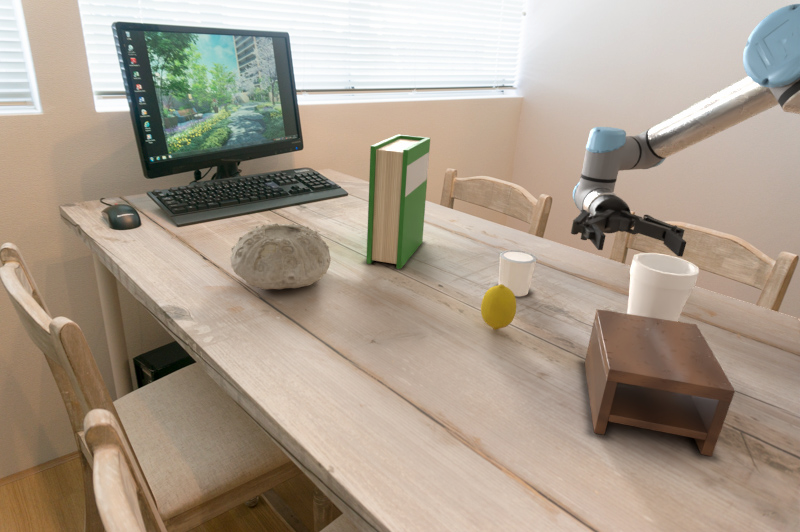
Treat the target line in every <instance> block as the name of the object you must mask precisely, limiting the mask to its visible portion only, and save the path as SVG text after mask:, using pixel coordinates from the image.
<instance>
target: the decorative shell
mask: <svg viewBox="0 0 800 532" xmlns="http://www.w3.org/2000/svg"><path fill="white" fill-rule="evenodd" d="M329 248H330V247H329V245H328V244H327V243H326V241H325V240H324V239H323V238H322V236H321V235H320V234H319V233H318V231H316V230H313V229H311V228H310V227H309V226H305V225H303V224H298V223H297V224H296V223H289V224H287V223H284V224H281V223H279V224H278V223H269V224H263V225H261V226H255V228H253V229H251V230H250V231H248V232H247V233H246V234H244V235H242V236H240V237H238V241H237V242H236V244H235V245H233V246H232V247H231V254H230V257H229V258H230V267H231V268H232V270H233V272H234V273H235V275H237V276H239V277H240V278H242V279H243V280H244V281H245V282H246V284H248V285H249V286H251V287H254V288H255V287H256V288H258V289H261V290H267V291H268V290H283V289H298V288H302V287H308V286H311V285H312V284H314V283H315V282H318V281H320V280H321V278H323V277H324V275H326V274H327V272H328V270H329V268H330V264H331V261H332V258H331V254H330V249H329Z"/></svg>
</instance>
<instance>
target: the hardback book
mask: <svg viewBox="0 0 800 532" xmlns="http://www.w3.org/2000/svg"><path fill="white" fill-rule="evenodd" d="M430 148H431V137H425V136H418V135H408V134H406V135H405V134H395V135H393V136H391V137H388V138H386V139H383V140H381V141H379V142H377V143H374V144H372V145H370V149H369V150H370V151H369V176H368V177H369V178H368V203H367V204H368V207H367V210H368V211H367V235H366V237H367V238H366V261H365V264H368V265H371V264H372V263H374V261H376V262H382V263H388V264H394V265H396V267H395V269H397V270H401V269H402V268H403V267H404V266H405V264H406V263H407V262H408V261H409V260H410V258H411V257H412V256H413V255H414V253H415V252H416V251H417V250H418V248H420V246H421V245H422V243H423V239H424V228H425V227H424V225H425V213H426V212H425V211H426V200H427V199H426V198H427V186H428V176H429V175H428V173H429V161H430V150H431V149H430Z"/></svg>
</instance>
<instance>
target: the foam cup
mask: <svg viewBox="0 0 800 532" xmlns="http://www.w3.org/2000/svg"><path fill="white" fill-rule="evenodd" d="M629 274H630V279H629V288H628V301H627V311H626V314H631V315H638V316H644V317H651V318H657V319H664V320H670V321H677V322H679V321H678V320H679V319H680V316H681V314H682V312H683V310H684V308H685V305H686V304H687V301H688V299H689V297H690V295H691V292H692V290H693V289H694V288H695V287H696V284H697V280H698V278H699V274H700V267H698V266H697V265H696V264H695V263H693V262H691V261H688V260H686V259H684V258H683V257H679V256H675V255H670V254H664V253H658V252H640V253H637V254H634V255H633V257H632V261H631V265H630V269H629Z"/></svg>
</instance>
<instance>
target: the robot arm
mask: <svg viewBox="0 0 800 532" xmlns="http://www.w3.org/2000/svg"><path fill="white" fill-rule="evenodd" d="M742 64H743V69H744V71H745V73H746V75H744V76H743V77H741V78H740V79H739V78H738V80H736V81H733V82H732V83H730V84H728V85H727V86H724V87H722V88H721V89H719V90H718V91H717V90H716V91H715V92H714V93H712V94H710V95H708V96H706V97H704V98H703V99H701V100H699V101H697V102H695V103H693V104H692V105H690V106H688V107H686V108H684V109H683V110H681V111H679V112H677V113H675V114H673V115H672V116H669V117H668V118H666V119H664V120H662V121H661V122H659V123H657V124H655V125H653V126H652V127H650V128H648V129H646V130H644V131H643V132H641V133H638V134H637V135H627V132H626V130H625V129H622V128H618V127H611V126H595V127H593V128H592V129H590V131H589V134H588V139H587V143H586V145H585V152H584V159H583V162H582V169H581V173H580V178H579V181H578V182H577V183H576V185H575V186H574V188H573V190H572V200H573V202H574V204H575V206H576V208H577V209H578V211H580V212H579V215H577V216H576V217H575V218H574V219H573V220H572V225H571V230H570V234H571V235H574V236H575V235H578V234H580V240H582V241H588V240H589V241H591V243H592V244H593V246H594V247H595V248H596V249H597V250H598V251H603V249H604V245H605V240H606V234H615V233H618V232H620V233H627V234H631V235H639V234H640V235H643V236H645V237H649V238H650V239H651V238H652V239H655V240H658V241H661V242H663V243H662V244H663V245H664V246H666V247H667V248H668V249H669V250H670V251H671V252H672V253H673V254H674V255H675V256H676V257H679V258H683V256H684V252H685V249H686V245H687V241H686V240H685V239H684V234H685V229H684V228H681V227H678V226H677V225H673V224H670V223H667V222H665V221H662V220H660V219H657V218H655V217H653V216H651V215H649V214H643V217H642V216H639V215H636V214H633V213H632V212H631V209H630V206H629V205H628V203H627V202H626V201H625V200H623V199H622V198H621V197H620V196H619V195H617V194H616V193H615V192H614V191H615V187H616V182H617V179H618V176H619V175H618V174H619V172H620V171H631V170H648V169H649V170H650V169H651V168H655V167H658V166H660V165H661V164H663V162H665V161H666V159H667V158H668V157H670V156H673V155H675V154H678V153H679V152H681V151H683V150H685V149H688V148H689V147H692V146H694V145H696V144H698V143H700V142H702V141H704V140H706V139H709V138H711V137H713V136H715V135H717V134H719V133H721V132H723V131H726V130H728V129H730V128H732V127H734V126H736V125H738V124H740V123H742V122H745V121H747V120H749V119H751V118H753V117H756V116H757V115H760V114H761V113H763V112H766V111H768V110H770V109H772V108H775V107H776V106H780V107H781V109H782V111H783V112H785V113H789V114H797V115H800V3H794V4H793V3H792V4H788V5H786V6H782V7H780V8H778V9H776V10H774V11H772V12H771V13H769V14H768V15H766V16H765V17H764V18H763V19H762V20H760V22H759V23H758V24H757V25H756V26H755V27H754V29H753V30H752V31H751V32H750V34H749V36H748V38H747V41H746V44H745V47H744V49H743V54H742Z"/></svg>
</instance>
